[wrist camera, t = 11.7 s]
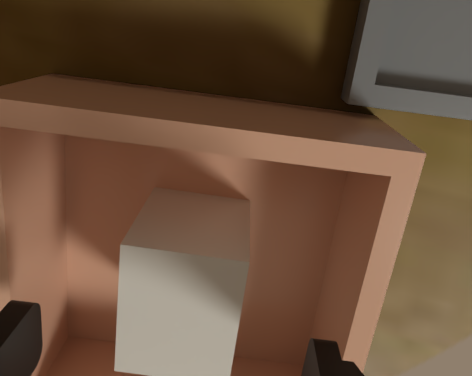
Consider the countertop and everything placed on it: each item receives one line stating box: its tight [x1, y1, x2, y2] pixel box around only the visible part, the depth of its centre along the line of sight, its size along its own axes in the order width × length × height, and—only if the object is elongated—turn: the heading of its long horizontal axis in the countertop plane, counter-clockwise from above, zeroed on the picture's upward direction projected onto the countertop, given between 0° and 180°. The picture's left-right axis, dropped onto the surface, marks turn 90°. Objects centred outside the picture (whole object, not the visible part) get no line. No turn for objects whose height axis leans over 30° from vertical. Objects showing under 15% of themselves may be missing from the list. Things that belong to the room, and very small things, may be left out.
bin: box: [0, 73, 426, 376], centre depth 17 cm, size 13×13×6 cm
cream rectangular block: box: [114, 187, 250, 376], centre depth 17 cm, size 5×4×5 cm
